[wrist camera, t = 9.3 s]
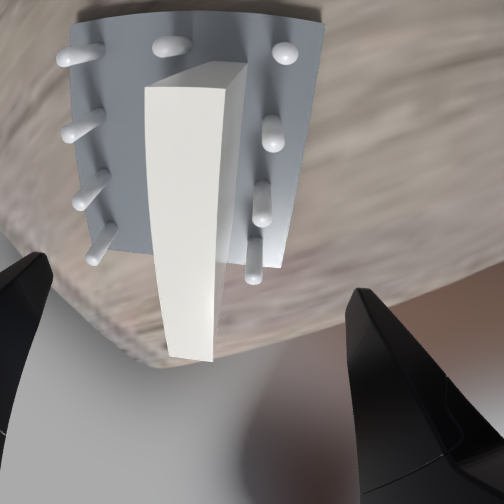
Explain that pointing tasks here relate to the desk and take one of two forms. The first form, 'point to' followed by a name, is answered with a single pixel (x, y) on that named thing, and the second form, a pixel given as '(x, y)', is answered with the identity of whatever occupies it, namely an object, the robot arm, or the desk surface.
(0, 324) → the robot arm
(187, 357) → the white rectangular slab
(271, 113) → the dish rack
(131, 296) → the desk surface
